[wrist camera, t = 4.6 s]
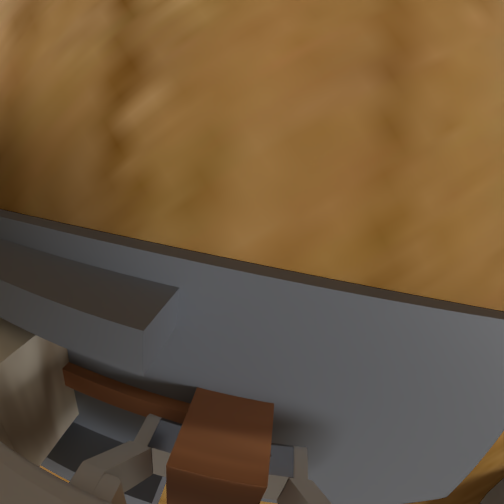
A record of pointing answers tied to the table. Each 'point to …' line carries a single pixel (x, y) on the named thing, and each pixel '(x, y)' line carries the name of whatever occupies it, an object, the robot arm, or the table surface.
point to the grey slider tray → (263, 357)
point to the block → (142, 403)
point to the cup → (495, 494)
